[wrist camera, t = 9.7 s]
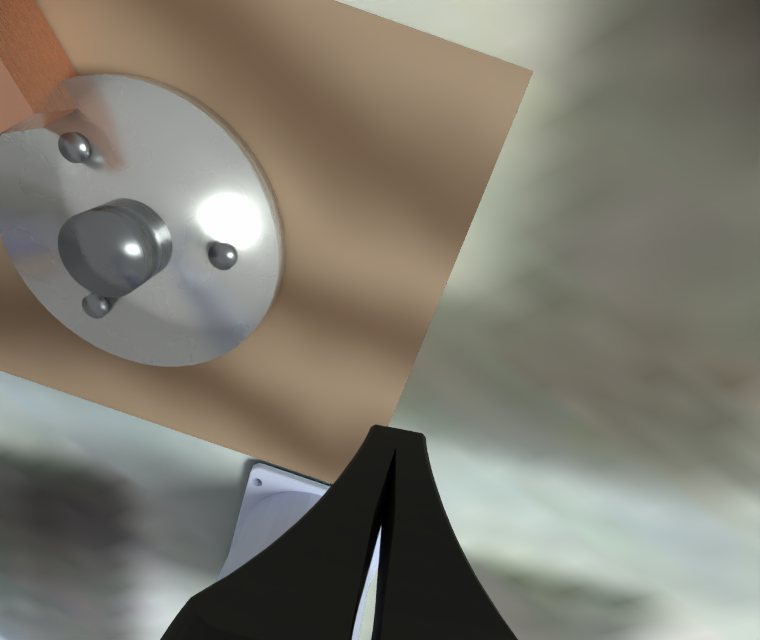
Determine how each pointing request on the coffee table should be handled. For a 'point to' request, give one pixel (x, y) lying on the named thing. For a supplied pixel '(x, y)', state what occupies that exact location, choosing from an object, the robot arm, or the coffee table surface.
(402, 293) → the base board
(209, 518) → the coffee table surface
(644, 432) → the coffee table surface
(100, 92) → the flange plate
